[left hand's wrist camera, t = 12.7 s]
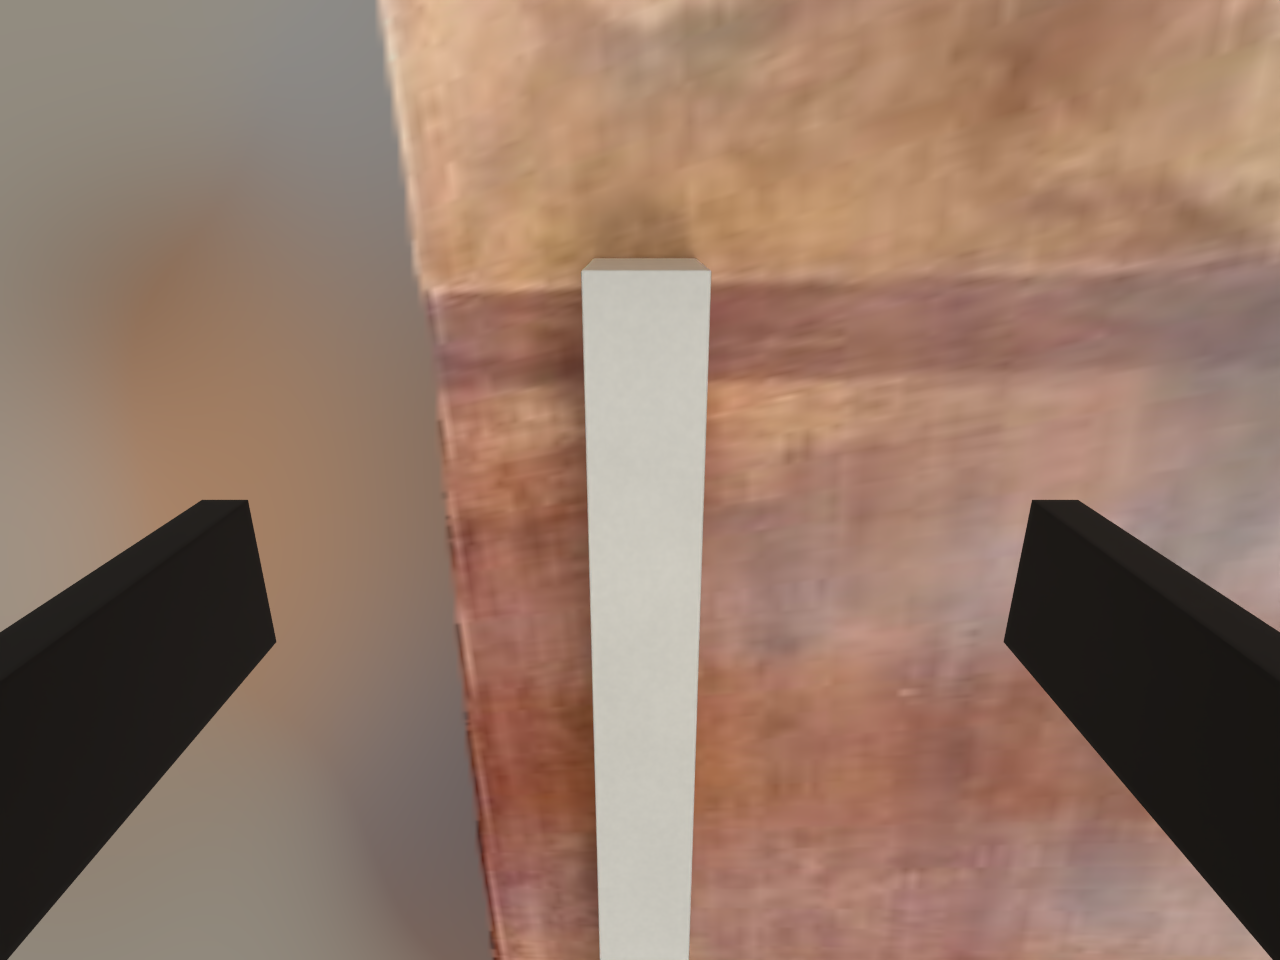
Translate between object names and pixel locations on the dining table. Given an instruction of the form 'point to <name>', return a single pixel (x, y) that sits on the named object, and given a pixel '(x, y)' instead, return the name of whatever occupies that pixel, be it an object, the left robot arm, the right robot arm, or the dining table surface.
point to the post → (645, 587)
